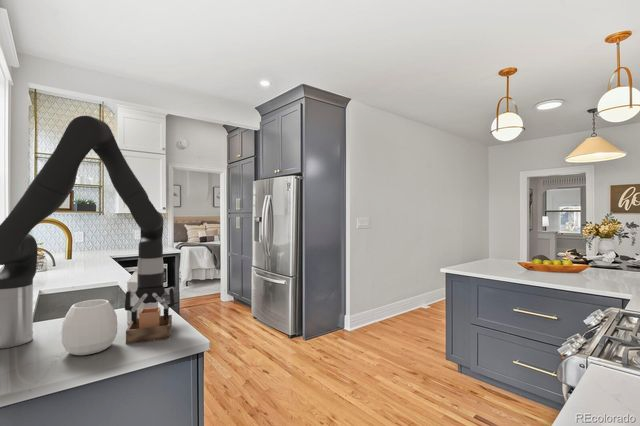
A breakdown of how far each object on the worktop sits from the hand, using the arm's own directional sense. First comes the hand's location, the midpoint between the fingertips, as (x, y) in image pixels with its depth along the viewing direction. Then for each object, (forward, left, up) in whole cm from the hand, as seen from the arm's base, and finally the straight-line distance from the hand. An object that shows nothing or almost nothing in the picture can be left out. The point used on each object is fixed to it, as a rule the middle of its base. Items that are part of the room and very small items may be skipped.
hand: (150, 321), depth 106 cm
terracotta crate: (0, 0, -4) cm, 4 cm away
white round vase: (-15, -7, -5) cm, 17 cm away
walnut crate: (0, 0, -4) cm, 4 cm away
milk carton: (-4, +15, -5) cm, 16 cm away
